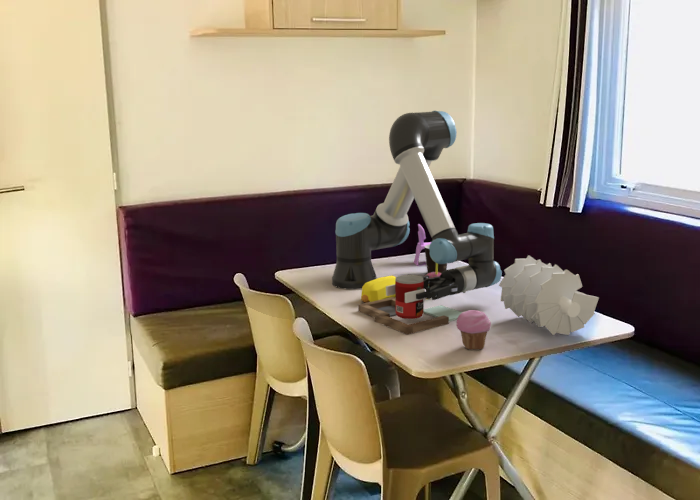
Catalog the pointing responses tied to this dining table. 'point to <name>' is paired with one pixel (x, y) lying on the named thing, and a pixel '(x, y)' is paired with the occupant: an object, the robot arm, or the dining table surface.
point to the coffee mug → (431, 264)
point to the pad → (442, 312)
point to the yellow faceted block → (377, 289)
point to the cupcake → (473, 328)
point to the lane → (387, 309)
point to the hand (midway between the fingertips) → (396, 294)
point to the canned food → (401, 287)
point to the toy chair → (420, 243)
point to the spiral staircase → (546, 296)
